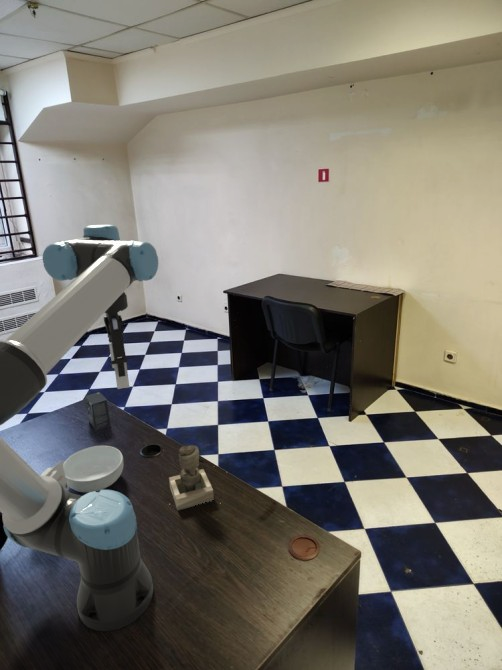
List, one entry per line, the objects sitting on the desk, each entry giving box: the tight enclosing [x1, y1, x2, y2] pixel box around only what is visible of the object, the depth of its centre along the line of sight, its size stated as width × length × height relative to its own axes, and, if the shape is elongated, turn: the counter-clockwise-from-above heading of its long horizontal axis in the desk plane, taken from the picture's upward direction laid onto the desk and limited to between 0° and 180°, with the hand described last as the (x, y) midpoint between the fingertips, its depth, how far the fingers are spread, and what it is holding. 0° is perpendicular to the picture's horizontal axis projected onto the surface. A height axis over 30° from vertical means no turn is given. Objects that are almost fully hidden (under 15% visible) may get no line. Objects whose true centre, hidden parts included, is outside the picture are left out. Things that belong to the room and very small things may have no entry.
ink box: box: [39, 459, 69, 492], centre depth 115 cm, size 9×5×15 cm, turn 168°
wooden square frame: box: [168, 468, 215, 511], centre depth 123 cm, size 10×10×4 cm
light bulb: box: [178, 444, 200, 492], centre depth 121 cm, size 6×6×15 cm
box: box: [84, 391, 111, 431], centre depth 160 cm, size 8×6×11 cm
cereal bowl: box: [63, 445, 124, 494], centre depth 129 cm, size 17×17×7 cm
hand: (120, 376), depth 111 cm, fingers open, 13 cm apart
